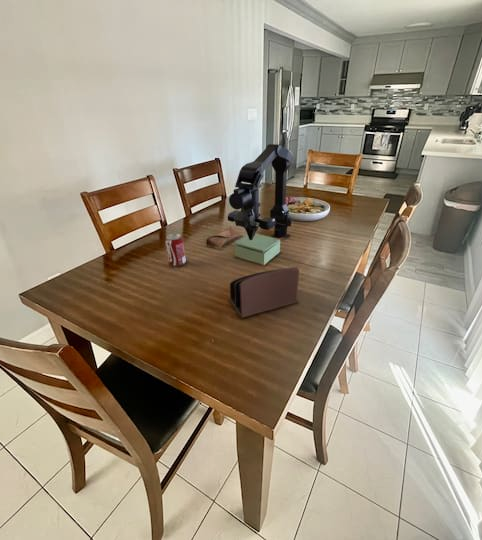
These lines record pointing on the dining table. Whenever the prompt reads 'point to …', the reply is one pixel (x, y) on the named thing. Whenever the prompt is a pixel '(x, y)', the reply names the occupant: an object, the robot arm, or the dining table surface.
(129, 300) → the dining table surface
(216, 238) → the sunglasses case
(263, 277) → the letter holder
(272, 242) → the lid
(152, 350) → the dining table surface
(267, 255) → the keepsake box
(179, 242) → the soda can
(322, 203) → the bowl
